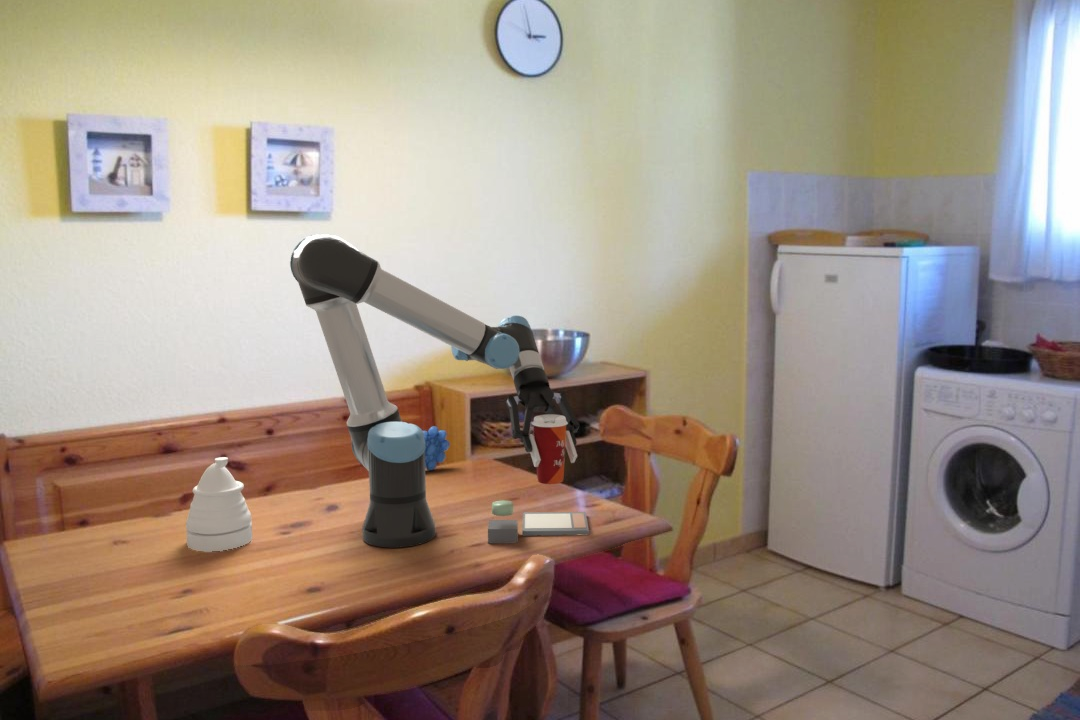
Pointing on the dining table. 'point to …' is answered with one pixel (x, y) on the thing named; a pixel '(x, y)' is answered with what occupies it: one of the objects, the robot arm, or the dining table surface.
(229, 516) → the honey pot
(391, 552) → the dining table surface
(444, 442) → the grapes
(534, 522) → the picture board
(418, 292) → the robot arm
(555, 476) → the paper cup
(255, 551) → the dining table surface
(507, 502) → the button
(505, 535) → the button housing
